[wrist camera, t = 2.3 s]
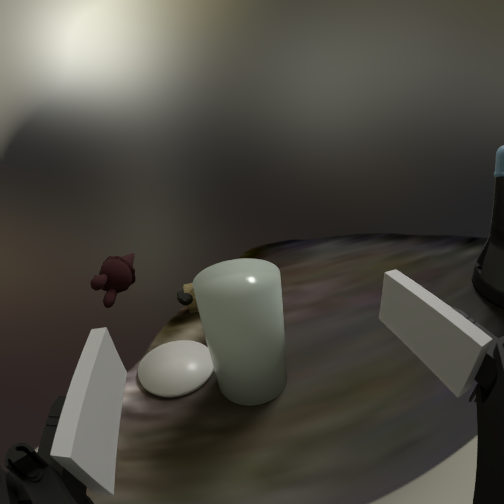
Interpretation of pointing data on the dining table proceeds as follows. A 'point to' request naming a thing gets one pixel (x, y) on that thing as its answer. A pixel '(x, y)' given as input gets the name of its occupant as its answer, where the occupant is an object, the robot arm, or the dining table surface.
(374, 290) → the dining table surface
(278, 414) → the dining table surface
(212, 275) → the tall sage cylinder
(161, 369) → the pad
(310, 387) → the dining table surface
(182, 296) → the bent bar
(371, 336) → the dining table surface
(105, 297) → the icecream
